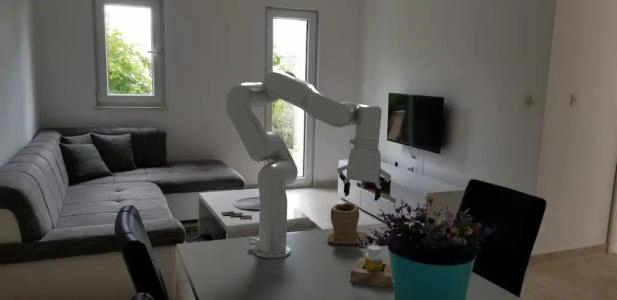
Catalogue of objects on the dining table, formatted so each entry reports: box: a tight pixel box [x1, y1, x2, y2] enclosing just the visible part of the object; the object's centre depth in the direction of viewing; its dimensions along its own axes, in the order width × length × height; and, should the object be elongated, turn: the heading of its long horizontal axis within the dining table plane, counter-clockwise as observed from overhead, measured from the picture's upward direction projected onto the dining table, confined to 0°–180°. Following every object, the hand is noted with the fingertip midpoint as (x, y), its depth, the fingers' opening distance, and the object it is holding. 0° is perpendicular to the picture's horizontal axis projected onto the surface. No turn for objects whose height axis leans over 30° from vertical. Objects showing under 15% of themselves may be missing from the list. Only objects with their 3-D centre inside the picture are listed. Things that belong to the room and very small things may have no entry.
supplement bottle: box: [364, 245, 384, 272], centre depth 154 cm, size 5×5×10 cm
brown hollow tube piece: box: [327, 202, 368, 245], centre depth 184 cm, size 15×12×15 cm
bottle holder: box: [350, 257, 393, 289], centre depth 154 cm, size 12×12×4 cm
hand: (361, 197), depth 159 cm, fingers open, 9 cm apart
